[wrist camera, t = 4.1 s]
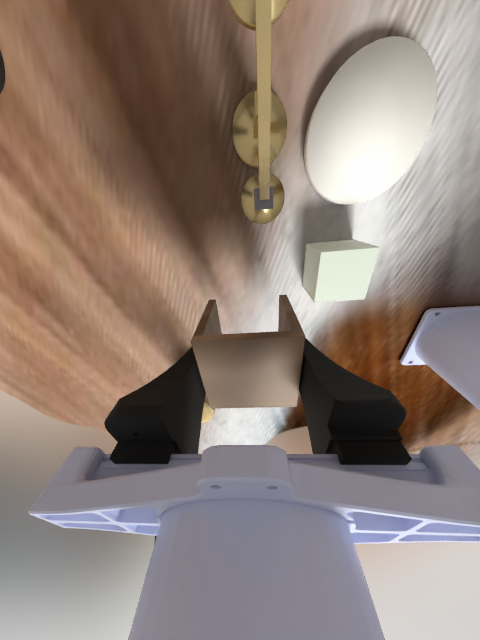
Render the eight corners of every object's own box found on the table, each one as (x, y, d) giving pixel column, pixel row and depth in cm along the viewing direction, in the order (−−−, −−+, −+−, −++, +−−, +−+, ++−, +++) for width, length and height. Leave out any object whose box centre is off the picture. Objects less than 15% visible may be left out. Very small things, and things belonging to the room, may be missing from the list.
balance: (288, -11, 10) (331, -244, 5) (282, 219, 15) (298, 224, 10) (222, 3, 10) (196, -203, 5) (240, 224, 15) (236, 230, 11)
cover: (286, 294, 13) (305, 336, 9) (283, 354, 16) (296, 406, 12) (209, 299, 14) (190, 341, 9) (220, 356, 17) (210, 408, 12)
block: (352, 239, 16) (380, 247, 12) (342, 282, 18) (364, 299, 15) (305, 243, 16) (321, 252, 13) (302, 285, 18) (314, 302, 15)
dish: (446, 38, 10) (464, 23, 9) (397, 199, 14) (407, 198, 13) (309, 62, 11) (315, 49, 10) (299, 209, 15) (302, 209, 14)
